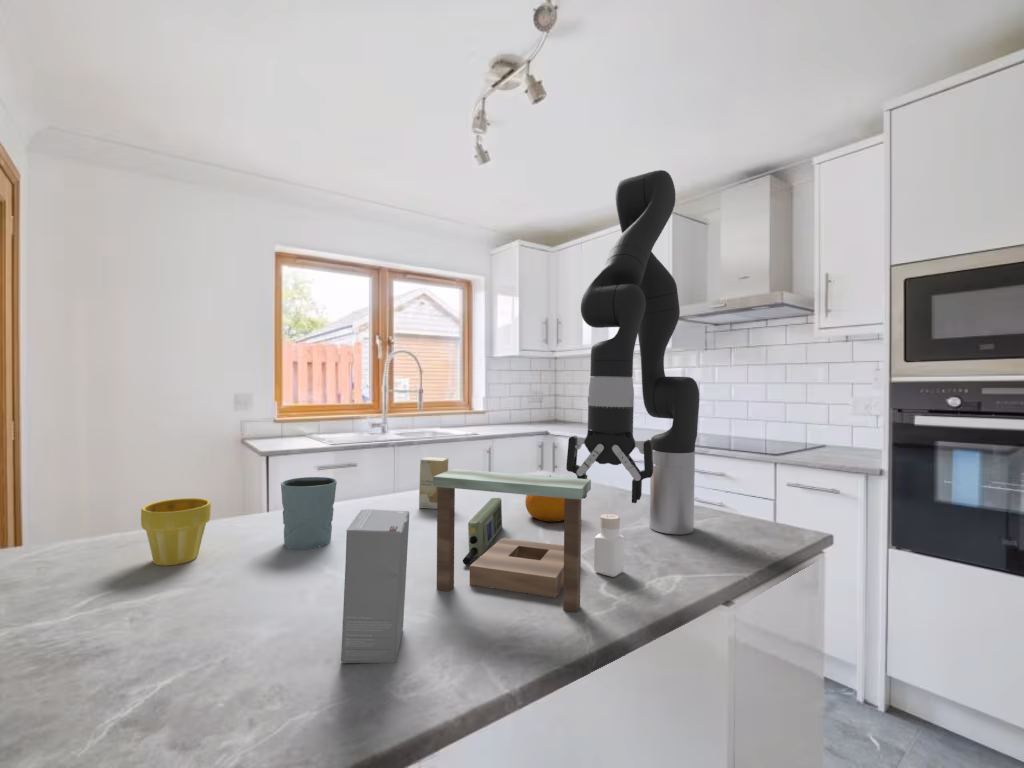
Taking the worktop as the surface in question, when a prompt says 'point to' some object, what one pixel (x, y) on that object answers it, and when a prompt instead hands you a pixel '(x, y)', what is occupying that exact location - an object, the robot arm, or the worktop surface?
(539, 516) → the fruit
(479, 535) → the handheld radio
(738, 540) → the worktop surface
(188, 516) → the plant pot
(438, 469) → the skincare box
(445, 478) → the stand
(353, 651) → the skincare box
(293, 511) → the teal cup
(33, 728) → the worktop surface
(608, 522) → the pepper shaker
